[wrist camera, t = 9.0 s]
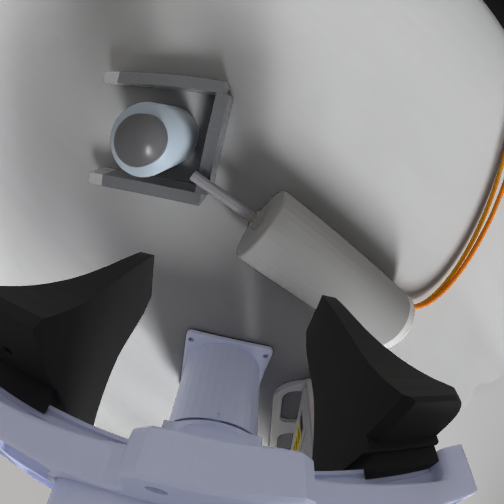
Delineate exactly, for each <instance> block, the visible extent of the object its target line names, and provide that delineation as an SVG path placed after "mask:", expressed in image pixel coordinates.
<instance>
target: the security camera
mask: <svg viewBox="0 0 504 504" xmlns="http://www.w3.org/2000/svg"><path fill="white" fill-rule="evenodd" d="M483 1H484V2H485V3H486V4H487V6H488V7H489V8H490V10H491V11H492V13H493V14H494V15H495V17H496V18H497V20H498V21H499V23H500V24H501V25H502V27H503V28H504V0H483Z"/></svg>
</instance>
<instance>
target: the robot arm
mask: <svg viewBox="0 0 504 504" xmlns="http://www.w3.org/2000/svg"><path fill="white" fill-rule="evenodd" d="M153 264H154V255H150V254H146V253H143V252H140V253H137V254H134V255H132V256H130V257H127V258H125V259H123V260H120V261H118V262H116V263H114V264H111V265H109V266H107V267H104V268H101V269H99V270H96V271H94V272H91V273H88V274H85V275H82V276H79V277H75V278H72V279H68V280H64V281H58V282H53V283H48V284H41V285H32V286H0V454H1V455H2V456H4V457H5V458H7V459H8V460H9V461H10V462H12V463H13V464H15V465H16V466H17V467H19V468H20V469H22V470H23V471H24V472H26V473H27V474H29V475H30V476H32V477H33V478H35V479H37V480H38V481H39V482H41V483H43V484H44V485H46V486H48V487H49V488H51V489H52V492H51V494H50V497H49V500H48V502H47V504H457V503H459V502H461V501H462V500H464V499H466V498H467V497H469V496H471V495H472V494H474V493H475V492H476V491H477V487H476V484H475V482H474V478H473V475H472V472H471V469H470V467H469V464H468V461H467V458H466V455H465V453H464V450H463V448H462V445H460V444H459V445H455V446H451V447H446V448H443V449H441V450H439V451H437V452H436V450H435V447H434V445H437V444H438V439H437V436H436V435H437V434H438V433H439V432H440V431H441V430H442V429H444V428H445V427H446V426H447V425H448V424H449V423H450V422H451V421H452V420H453V419H454V417H455V416H456V415H457V413H458V412H459V410H460V408H461V400H460V398H459V396H458V394H457V392H456V390H455V389H454V387H452V386H449V385H447V384H445V383H442V382H440V381H438V380H435V379H433V378H431V377H429V376H427V375H426V374H424V373H422V372H420V371H418V370H417V369H415V368H413V367H412V366H410V365H409V364H407V363H406V362H404V361H403V360H401V359H400V358H399V357H397V356H396V355H394V354H393V353H392V352H391V351H389V350H388V349H387V348H386V347H385V346H383V345H382V344H381V343H380V342H379V341H378V340H377V339H376V338H375V337H374V336H372V335H371V334H370V333H369V332H368V331H367V330H366V329H365V328H364V327H363V326H362V324H361V323H360V322H359V321H358V320H357V319H356V318H355V317H354V316H353V315H352V314H351V313H350V312H349V311H348V309H347V308H346V307H345V306H344V305H343V304H342V303H341V302H340V301H339V300H338V299H336V298H335V297H330V296H325V295H322V297H321V299H320V301H319V304H318V306H317V308H316V311H315V313H314V315H313V318H312V320H311V322H310V324H309V327H308V329H307V331H306V347H307V357H308V364H309V370H310V376H311V383H312V389H313V398H314V439H313V452H312V459H310V458H309V457H308V456H306V455H305V454H303V453H302V452H300V451H294V450H289V449H284V448H277V447H267V446H262V437H261V436H257V430H258V407H259V384H260V382H261V379H262V377H263V375H264V372H265V370H266V368H267V365H268V363H269V360H270V358H271V356H272V353H273V349H272V348H271V347H269V346H264V345H259V344H254V343H249V342H244V341H240V340H235V339H230V338H226V337H221V336H217V335H213V334H209V333H204V332H200V331H196V330H188V331H187V334H186V341H185V349H184V357H183V365H182V374H181V382H180V386H179V389H178V392H177V396H176V399H175V403H174V406H173V410H172V413H171V417H170V420H169V421H168V420H164V422H163V425H162V427H156V426H149V427H142V428H137V429H133V431H132V433H131V435H130V437H129V439H126V438H123V437H121V436H118V435H115V434H113V433H110V432H107V431H105V430H102V429H100V428H97V427H95V426H93V425H94V421H95V418H96V414H97V411H98V407H99V404H100V401H101V398H102V395H103V392H104V390H105V387H106V384H107V382H108V379H109V376H110V374H111V371H112V369H113V367H114V364H115V362H116V360H117V357H118V355H119V354H120V352H121V350H122V348H123V346H124V345H125V343H126V341H127V340H128V338H129V337H130V335H131V333H132V332H133V330H134V328H135V327H136V325H137V323H138V322H139V320H140V319H141V317H142V315H143V314H144V311H145V309H146V307H147V305H148V302H149V300H150V298H151V293H152V277H153ZM190 338H193V339H190ZM265 354H267V355H265Z"/></svg>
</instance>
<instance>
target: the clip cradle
mask: <svg viewBox="0 0 504 504" xmlns="http://www.w3.org/2000/svg"><path fill="white" fill-rule="evenodd" d="M103 82H104V83H109V84H114V85H127V86H143V87H156V88H166V89H175V90H183V91H191V92H198V93H205V94H211V95H216V96H215V100H214V105H213V109H212V113H211V117H210V121H209V126H208V130H207V135H206V139H205V144H204V149H203V153H202V158H201V163H200V168H199V173H200V174H201V175H203V176H204V177H206V178H207V179H208V180H210V181H211V182H213V183H214V180H215V176H216V171H217V166H218V162H219V157H220V153H221V148H222V144H223V140H224V135H225V131H226V127H227V123H228V118H229V114H230V110H231V106H232V102H233V98H232V97H231V96H230V95H228V94H229V90H230V86H229V84H228V83H227V82H225V81H219V80H213V79H206V78H199V77H191V76H183V75H173V74H162V73H147V72H120V71H105V75H104V79H103ZM88 183H91V184H96V185H101V186H106V187H112V188H117V189H122V190H127V191H132V192H137V193H142V194H146V195H151V196H156V197H161V198H165V199H170V200H175V201H179V202H184V203H188V204H193V205H197V206H199V205H200V203H201V202H202V201H203V200H204V199H205V197H206V195H207V194H208V192H207V191H205V190H204V189H203V188H201V187H200V186H198V185H197V184H191V183H187V182H182V181H177V180H172V179H167V178H162V177H157V176H150V177H137V176H133V175H131V174H129V173H127V172H125V171H124V170H118V169H112V168H106V167H103V168H100V169H97V170H94V171H92V172H89V182H88Z"/></svg>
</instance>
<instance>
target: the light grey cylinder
mask: <svg viewBox="0 0 504 504" xmlns="http://www.w3.org/2000/svg"><path fill="white" fill-rule="evenodd" d="M197 142H198V127H197V124H196V121H195V120H194V118H193V117H192V115H191V114H190V113H189V112H187V111H186V110H184V109H182V108H180V107H176V106H171V105H165V104H160V103H154V102H140V103H137V104H134V105H132V106H130V107H128V108H127V109H126V110H124V111H123V112H122V113H121V114H120V116H119V117H118V118H117V120H116V121H115V124H114V126H113V128H112V132H111V138H110V145H111V151H112V154H113V157H114V159H115V161H116V162H117V164H118V165H119V166H120V167H121V168H122V169H123V170H124V171H125V172H127V173H129V174H131V175H133V176H137V177H150V176H154V175H156V174H158V173H161V172H163V171H165V170H167V169H169V168H171V167H173V166H175V165H178V164H180V163H182V162H184V161H185V160H186V159H188V158H189V157H190V156H191V154H192V153H193V152H194V150H195V148H196V146H197Z"/></svg>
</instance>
